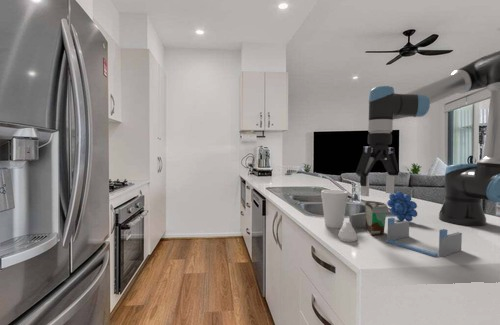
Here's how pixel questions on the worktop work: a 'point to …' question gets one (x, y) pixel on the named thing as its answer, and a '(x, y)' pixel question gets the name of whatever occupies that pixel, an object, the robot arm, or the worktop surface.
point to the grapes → (402, 206)
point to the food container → (375, 217)
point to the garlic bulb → (347, 233)
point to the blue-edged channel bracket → (401, 230)
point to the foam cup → (334, 207)
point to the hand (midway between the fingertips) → (377, 194)
